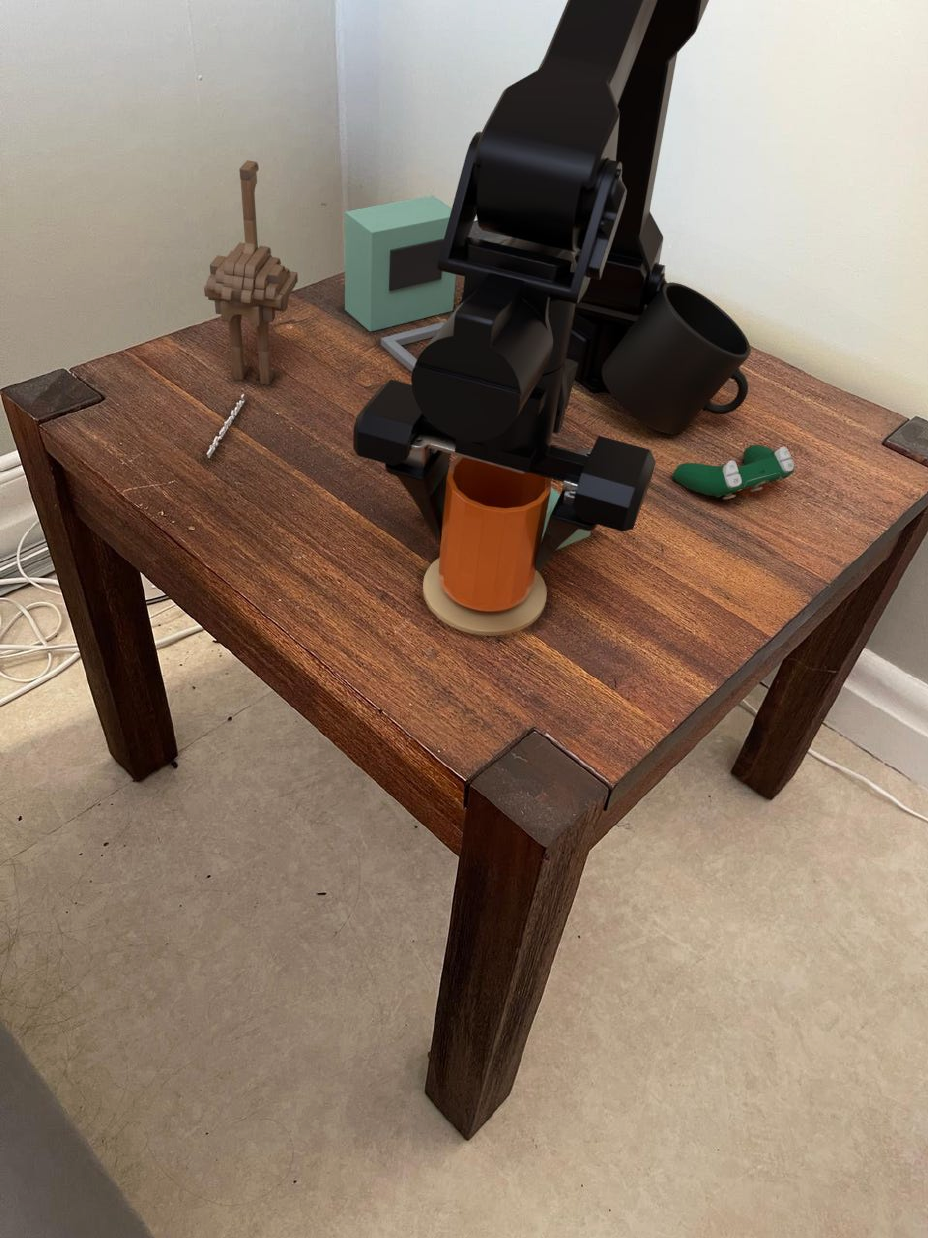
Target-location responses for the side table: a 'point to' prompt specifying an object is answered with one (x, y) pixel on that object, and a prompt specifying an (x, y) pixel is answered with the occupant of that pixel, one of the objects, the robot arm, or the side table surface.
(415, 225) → the mint block with tray
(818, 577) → the side table surface
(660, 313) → the mug
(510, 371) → the robot arm
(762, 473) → the gaming controller
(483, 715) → the side table surface
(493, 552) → the cup
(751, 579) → the side table surface
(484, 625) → the coaster
